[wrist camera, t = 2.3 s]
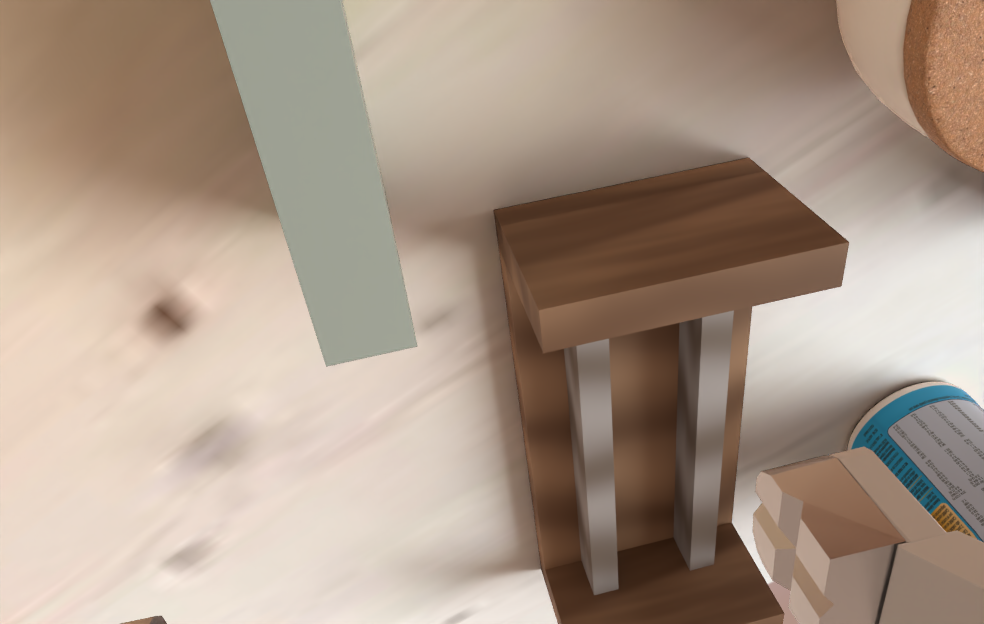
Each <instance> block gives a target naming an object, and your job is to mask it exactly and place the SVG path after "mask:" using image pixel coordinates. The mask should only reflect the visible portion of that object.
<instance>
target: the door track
mask: <svg viewBox="0 0 984 624" xmlns="http://www.w3.org/2000/svg"><path fill="white" fill-rule="evenodd" d="M494 216H495V223H496V231H497V238H498V246H499V253H500V261H501V269H502V276H503V284H504V291H505V299H506V306H507V314H508V321H509V329H510V336H511V344H512V351H513V359H514V367H515V374H516V382H517V389H518V397H519V404H520V412H521V419H522V427H523V434H524V442H525V450H526V457H527V465H528V472H529V480H530V487H531V495H532V502H533V510H534V517H535V525H536V532H537V540H538V548H539V555H540V563H541V570H542V573H543V576H544V580H545V583H546V586H547V589H548V593H549V596H550V599H551V602H552V606H553V609H554V612H555V615H556V619H557V622H558V624H783V618H784V612H783V610H782V609H781V607H780V605H779V603H778V602H777V600H776V598H775V597H774V595H773V593H772V591H771V590H770V588H769V586H768V584H767V583H766V581H765V579H764V578H763V576H762V574H761V572H760V571H759V569H758V567H757V566H756V564H755V562H754V560H753V559H752V557H751V555H750V553H749V552H748V550H747V548H746V547H745V545H744V543H743V541H742V540H741V538H740V536H739V535H738V533H737V531H736V529H735V528H734V526H733V524H732V513H733V502H734V492H735V481H736V471H737V460H738V450H739V439H740V429H741V418H742V408H743V397H744V386H745V376H746V365H747V355H748V344H749V334H750V323H751V313H752V306H756V305H760V304H765V303H769V302H774V301H778V300H783V299H787V298H791V297H796V296H800V295H805V294H809V293H814V292H818V291H823V290H827V289H831V288H836V287H840V286H842V280H843V274H844V269H845V263H846V257H847V252H848V246H849V242H848V241H847V240H846V239H845V238H844V237H842V236H841V235H840V234H839V233H838V232H836V231H835V230H834V229H833V228H832V227H831V226H829V225H828V224H827V223H826V222H825V221H823V220H822V219H821V218H820V217H819V216H817V215H816V214H815V213H814V212H813V211H812V210H810V209H809V208H808V207H807V206H806V205H804V204H803V203H802V202H801V201H800V200H799V199H797V198H796V197H795V196H794V195H793V194H791V193H790V192H789V191H788V190H787V189H786V188H784V187H783V186H782V185H781V184H780V183H778V182H777V181H776V180H775V179H774V178H772V177H771V176H770V175H769V174H768V173H767V172H765V171H764V170H763V169H762V168H761V167H759V166H758V165H757V164H756V163H755V162H754V161H752V160H751V159H750V158H745V159H740V160H736V161H731V162H726V163H721V164H716V165H711V166H706V167H701V168H697V169H692V170H687V171H682V172H677V173H672V174H667V175H663V176H658V177H653V178H648V179H643V180H638V181H633V182H628V183H624V184H619V185H614V186H609V187H604V188H599V189H594V190H590V191H585V192H580V193H575V194H570V195H565V196H560V197H555V198H551V199H546V200H541V201H536V202H531V203H526V204H521V205H517V206H512V207H507V208H502V209H497V210H494Z"/></svg>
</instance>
